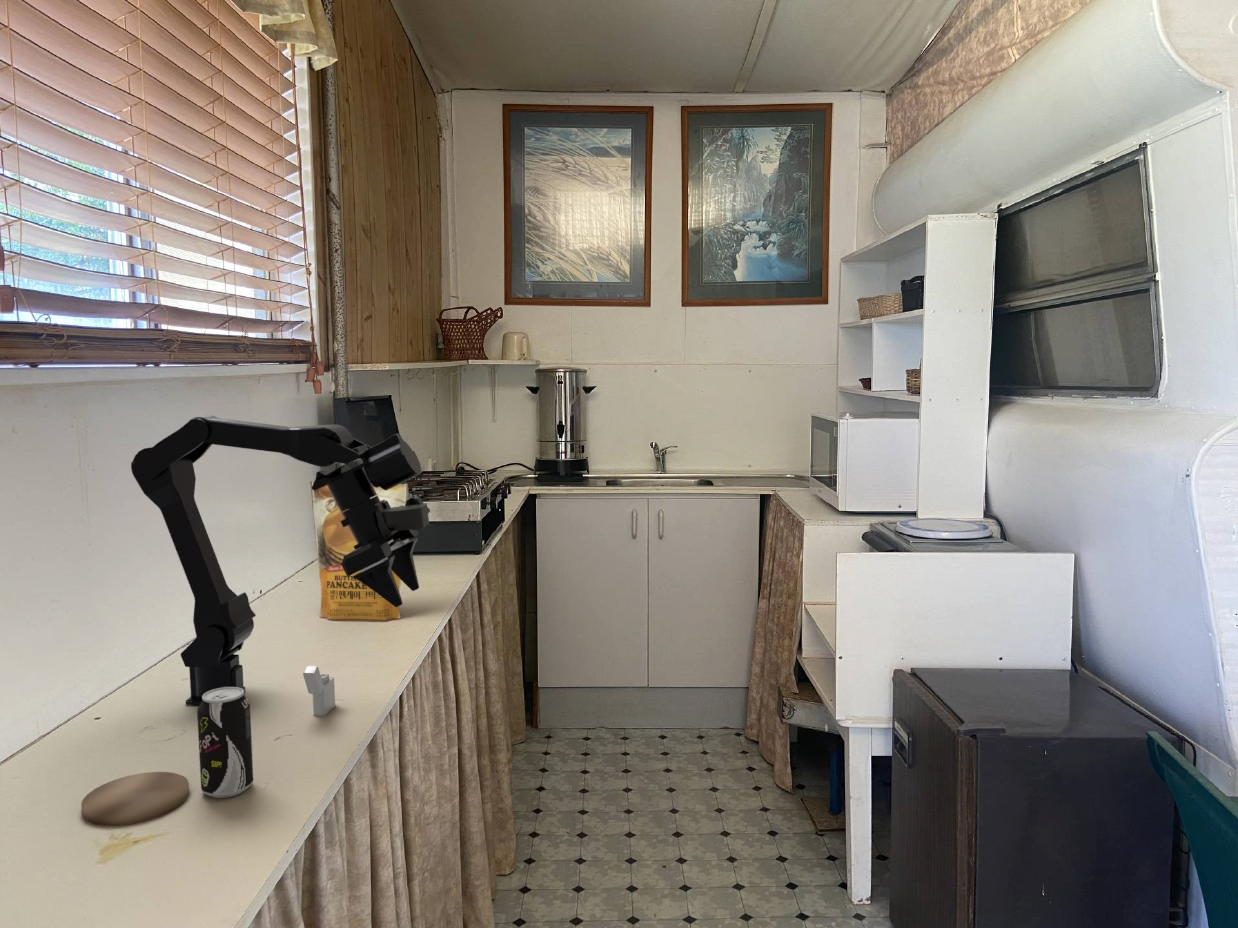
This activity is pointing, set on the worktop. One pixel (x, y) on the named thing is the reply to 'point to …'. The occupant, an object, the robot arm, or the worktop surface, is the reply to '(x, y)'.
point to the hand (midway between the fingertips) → (408, 597)
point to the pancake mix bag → (333, 543)
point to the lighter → (320, 690)
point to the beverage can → (225, 742)
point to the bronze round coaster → (135, 798)
